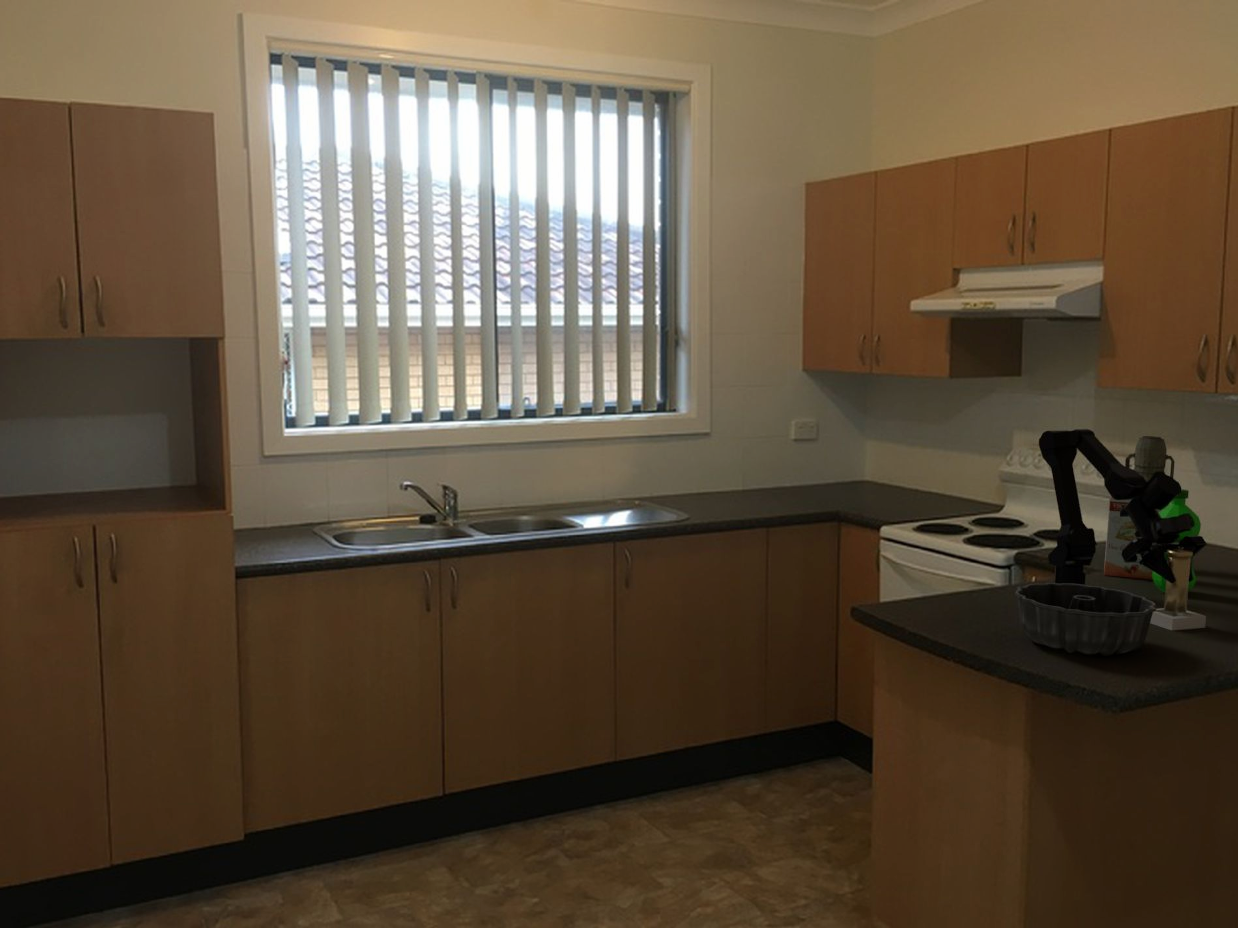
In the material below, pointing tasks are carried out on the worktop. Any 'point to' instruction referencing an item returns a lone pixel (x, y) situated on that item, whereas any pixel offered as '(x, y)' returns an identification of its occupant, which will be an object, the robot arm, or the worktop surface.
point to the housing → (1177, 620)
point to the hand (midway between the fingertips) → (1182, 581)
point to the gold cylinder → (1178, 580)
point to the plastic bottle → (1173, 510)
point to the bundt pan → (1084, 617)
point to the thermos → (1150, 457)
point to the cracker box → (1122, 544)
